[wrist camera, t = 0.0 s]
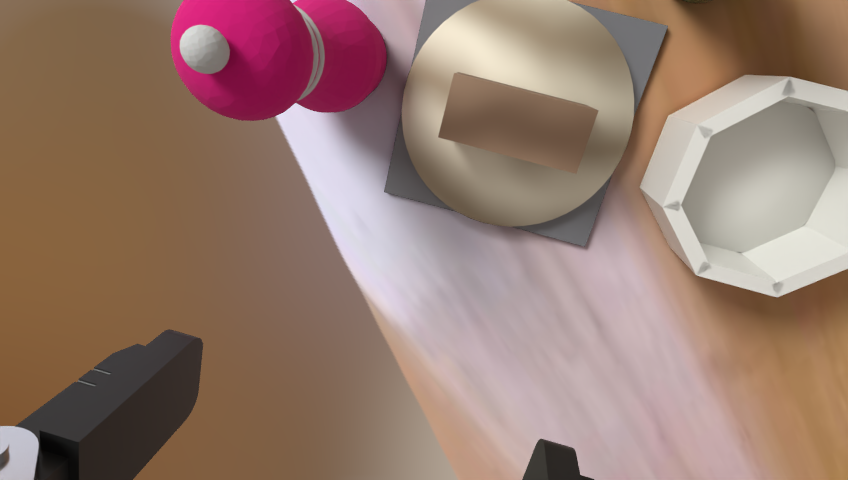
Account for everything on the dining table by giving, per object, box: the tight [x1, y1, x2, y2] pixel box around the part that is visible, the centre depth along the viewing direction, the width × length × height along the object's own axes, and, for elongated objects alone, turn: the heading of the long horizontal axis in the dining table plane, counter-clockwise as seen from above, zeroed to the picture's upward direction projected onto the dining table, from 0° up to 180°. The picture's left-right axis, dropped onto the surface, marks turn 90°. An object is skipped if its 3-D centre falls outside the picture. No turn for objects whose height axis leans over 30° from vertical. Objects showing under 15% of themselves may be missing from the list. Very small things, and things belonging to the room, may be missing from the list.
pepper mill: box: [171, 0, 387, 121], centre depth 28 cm, size 7×7×20 cm
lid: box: [402, 0, 634, 226], centre depth 34 cm, size 16×16×6 cm
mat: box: [384, 0, 668, 247], centre depth 37 cm, size 16×16×1 cm
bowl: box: [640, 75, 848, 297], centre depth 34 cm, size 13×13×6 cm
